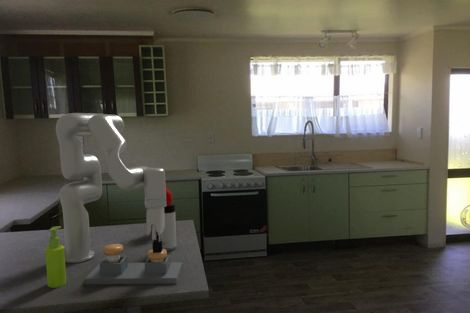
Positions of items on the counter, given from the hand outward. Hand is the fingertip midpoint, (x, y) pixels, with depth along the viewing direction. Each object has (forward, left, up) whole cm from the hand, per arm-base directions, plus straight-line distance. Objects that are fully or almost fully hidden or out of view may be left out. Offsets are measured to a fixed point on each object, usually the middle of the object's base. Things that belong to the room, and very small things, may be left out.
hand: (157, 251), depth 133 cm
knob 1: (-16, 0, -4) cm, 17 cm away
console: (-8, 0, -9) cm, 12 cm away
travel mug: (-1, +28, -9) cm, 30 cm away
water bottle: (-9, +52, -9) cm, 54 cm away
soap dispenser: (-34, -6, -9) cm, 36 cm away
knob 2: (0, 0, -6) cm, 6 cm away
